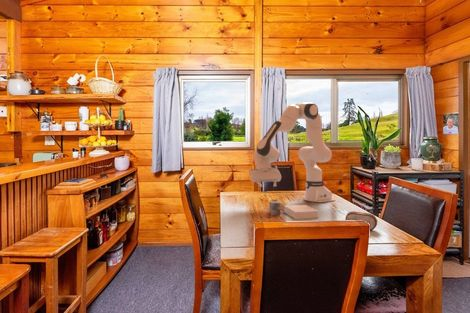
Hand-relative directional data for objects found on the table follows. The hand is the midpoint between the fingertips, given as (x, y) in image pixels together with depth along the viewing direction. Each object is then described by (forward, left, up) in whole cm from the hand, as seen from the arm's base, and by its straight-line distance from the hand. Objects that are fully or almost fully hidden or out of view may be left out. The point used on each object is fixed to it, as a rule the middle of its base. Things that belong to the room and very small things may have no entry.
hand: (268, 186), depth 199 cm
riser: (-14, +18, -15) cm, 27 cm away
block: (0, +12, -15) cm, 19 cm away
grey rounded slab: (-32, +50, -15) cm, 61 cm away
